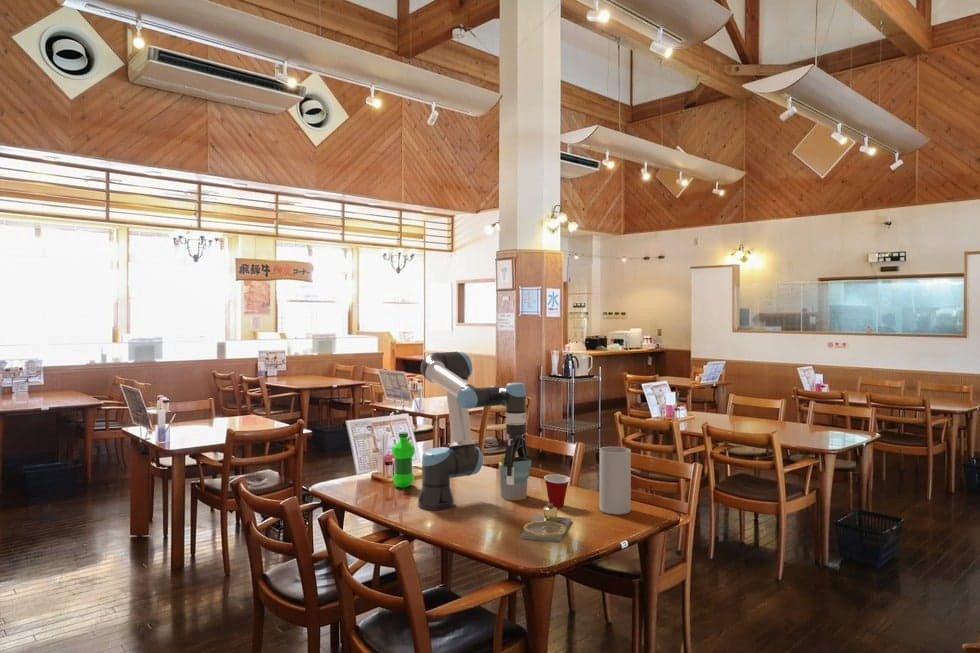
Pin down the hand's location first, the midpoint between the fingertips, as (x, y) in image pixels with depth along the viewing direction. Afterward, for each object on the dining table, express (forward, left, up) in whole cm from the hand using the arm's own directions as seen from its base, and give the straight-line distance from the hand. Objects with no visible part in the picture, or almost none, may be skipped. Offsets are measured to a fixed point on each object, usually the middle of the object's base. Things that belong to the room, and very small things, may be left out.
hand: (516, 480), depth 245 cm
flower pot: (0, 0, -1) cm, 1 cm away
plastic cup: (+11, +28, -17) cm, 34 cm away
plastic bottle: (-64, +40, -17) cm, 78 cm away
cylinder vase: (+35, +28, -17) cm, 47 cm away
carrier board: (+13, -4, -16) cm, 21 cm away
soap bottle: (-10, +37, -17) cm, 42 cm away
